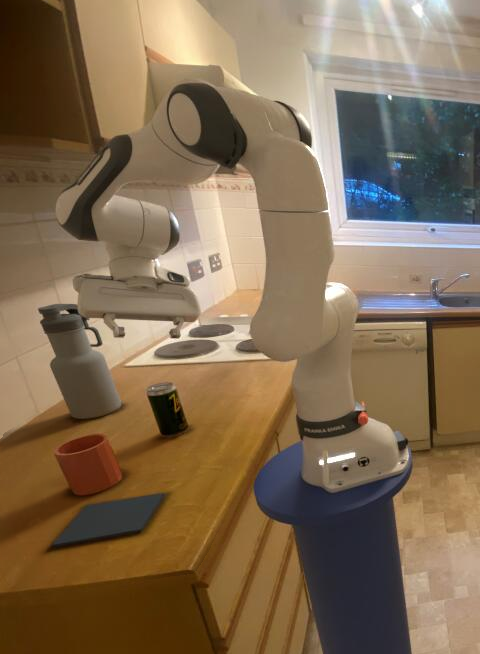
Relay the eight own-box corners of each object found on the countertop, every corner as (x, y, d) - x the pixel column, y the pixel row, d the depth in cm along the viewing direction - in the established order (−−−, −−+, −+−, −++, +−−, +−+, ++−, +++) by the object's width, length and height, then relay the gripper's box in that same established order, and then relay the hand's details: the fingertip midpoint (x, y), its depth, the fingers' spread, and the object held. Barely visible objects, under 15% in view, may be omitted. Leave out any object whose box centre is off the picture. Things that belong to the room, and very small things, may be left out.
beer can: (158, 440, 100) (141, 393, 95) (164, 429, 104) (148, 384, 100) (186, 435, 102) (171, 389, 97) (191, 424, 106) (177, 380, 102)
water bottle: (96, 401, 117) (55, 300, 106) (133, 401, 117) (96, 300, 106) (60, 420, 108) (12, 311, 97) (100, 420, 108) (56, 311, 97)
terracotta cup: (129, 469, 89) (114, 431, 86) (111, 491, 83) (94, 451, 79) (85, 475, 87) (68, 437, 84) (63, 498, 81) (43, 458, 77)
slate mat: (165, 495, 82) (164, 492, 82) (141, 532, 73) (140, 529, 73) (87, 507, 79) (86, 504, 78) (52, 548, 70) (51, 545, 70)
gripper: (74, 264, 84) (84, 329, 82) (197, 278, 101) (208, 332, 98) (68, 280, 88) (77, 342, 85) (187, 291, 104) (198, 343, 102)
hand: (148, 337), depth 92 cm, fingers open, 8 cm apart
